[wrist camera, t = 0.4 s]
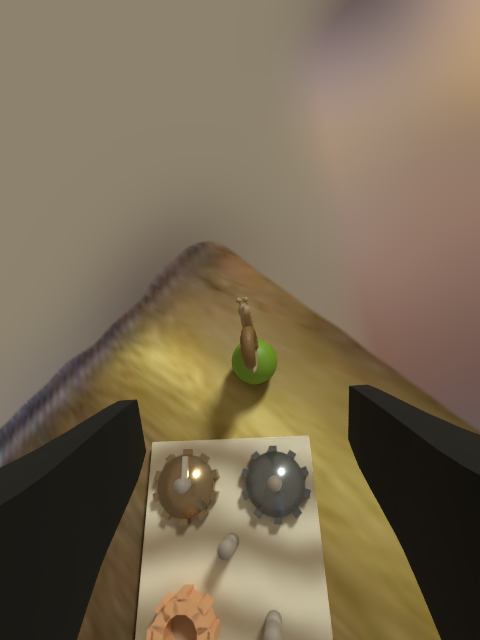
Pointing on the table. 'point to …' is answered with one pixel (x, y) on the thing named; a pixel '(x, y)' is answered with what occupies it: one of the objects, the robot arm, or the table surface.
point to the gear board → (237, 551)
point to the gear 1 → (196, 496)
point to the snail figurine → (252, 352)
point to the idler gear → (189, 605)
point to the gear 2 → (290, 491)
